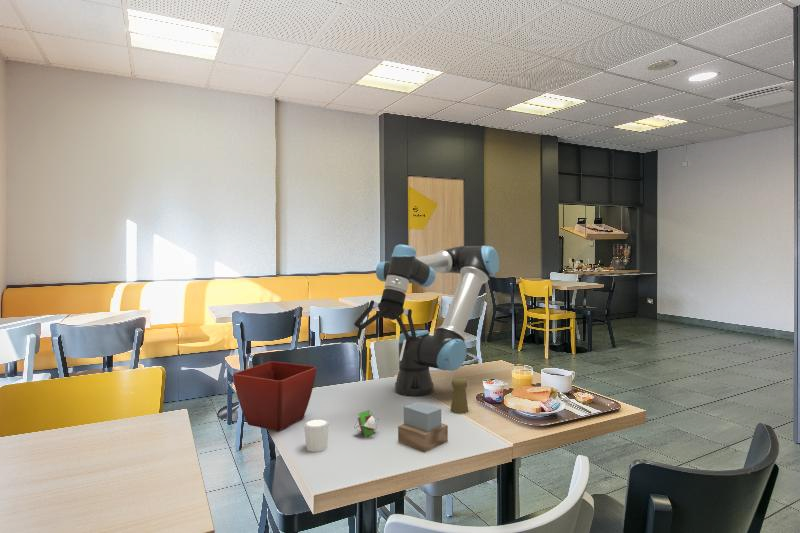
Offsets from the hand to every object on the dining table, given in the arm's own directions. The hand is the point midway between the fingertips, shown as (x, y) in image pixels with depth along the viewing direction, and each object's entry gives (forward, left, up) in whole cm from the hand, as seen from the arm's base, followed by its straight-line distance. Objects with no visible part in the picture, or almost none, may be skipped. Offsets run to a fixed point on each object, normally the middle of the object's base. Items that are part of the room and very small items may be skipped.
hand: (379, 355), depth 152 cm
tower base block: (+2, +20, -22) cm, 30 cm away
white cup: (+25, +1, -22) cm, 33 cm away
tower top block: (+2, +20, -17) cm, 26 cm away
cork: (-26, +12, -22) cm, 36 cm away
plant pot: (+22, -25, -22) cm, 40 cm away
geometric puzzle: (+9, +4, -22) cm, 24 cm away
